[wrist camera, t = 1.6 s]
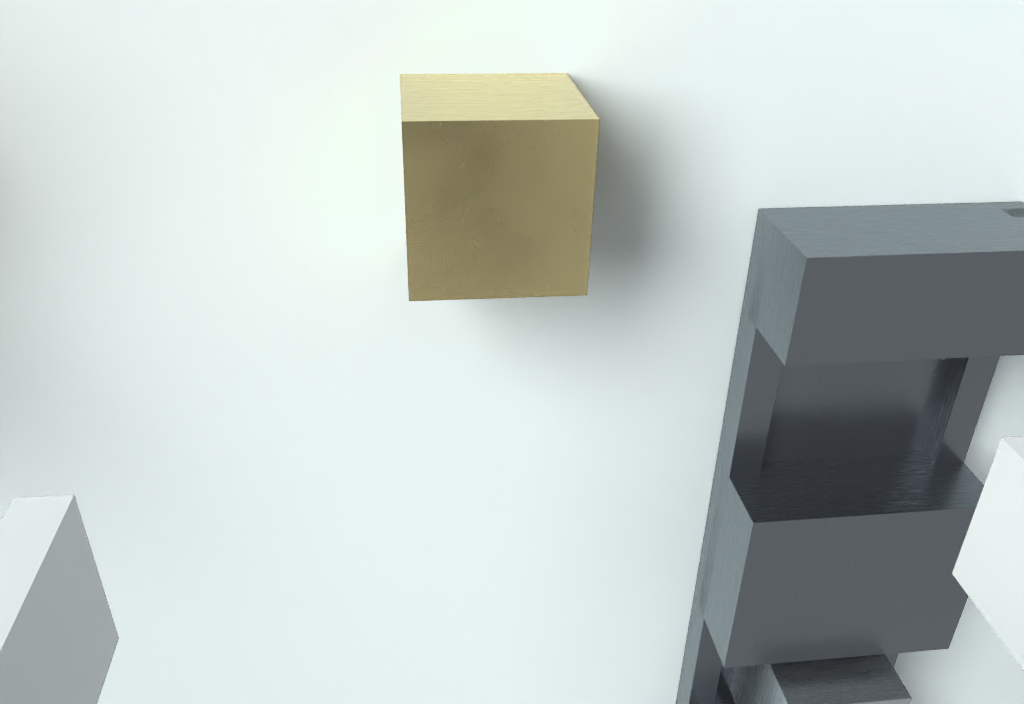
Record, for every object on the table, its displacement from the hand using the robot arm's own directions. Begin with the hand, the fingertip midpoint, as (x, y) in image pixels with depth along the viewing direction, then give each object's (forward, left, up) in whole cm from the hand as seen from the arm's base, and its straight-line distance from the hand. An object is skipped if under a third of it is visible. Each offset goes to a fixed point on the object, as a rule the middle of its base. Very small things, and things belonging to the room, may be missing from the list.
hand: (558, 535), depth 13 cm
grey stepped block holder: (-16, -14, -17) cm, 28 cm away
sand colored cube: (0, 0, -17) cm, 17 cm away
